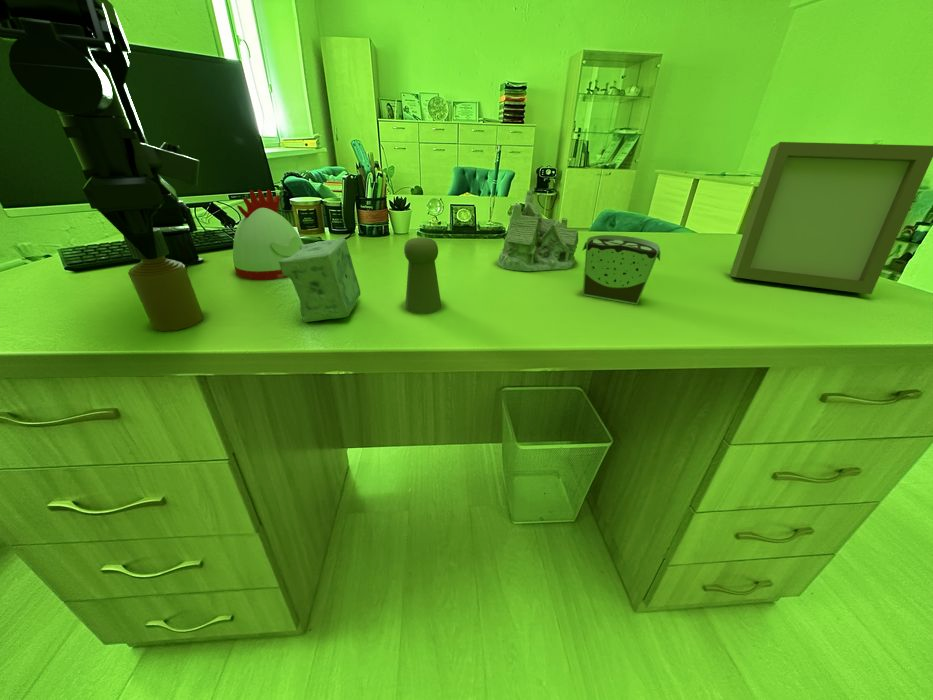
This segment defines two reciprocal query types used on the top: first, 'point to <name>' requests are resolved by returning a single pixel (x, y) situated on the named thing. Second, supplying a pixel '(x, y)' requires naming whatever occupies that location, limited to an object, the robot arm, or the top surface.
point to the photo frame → (829, 213)
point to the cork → (422, 276)
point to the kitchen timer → (263, 239)
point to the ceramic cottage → (537, 241)
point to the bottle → (166, 293)
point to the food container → (618, 267)
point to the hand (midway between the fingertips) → (151, 255)
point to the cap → (159, 242)
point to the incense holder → (323, 279)
